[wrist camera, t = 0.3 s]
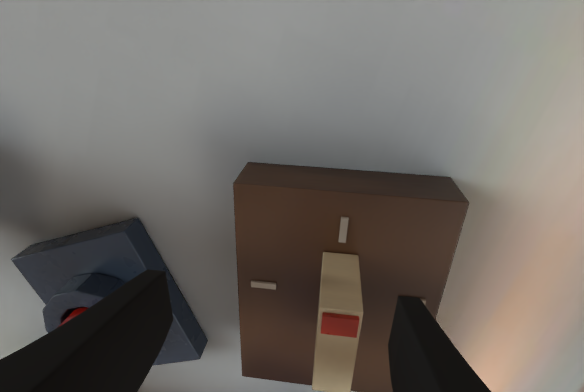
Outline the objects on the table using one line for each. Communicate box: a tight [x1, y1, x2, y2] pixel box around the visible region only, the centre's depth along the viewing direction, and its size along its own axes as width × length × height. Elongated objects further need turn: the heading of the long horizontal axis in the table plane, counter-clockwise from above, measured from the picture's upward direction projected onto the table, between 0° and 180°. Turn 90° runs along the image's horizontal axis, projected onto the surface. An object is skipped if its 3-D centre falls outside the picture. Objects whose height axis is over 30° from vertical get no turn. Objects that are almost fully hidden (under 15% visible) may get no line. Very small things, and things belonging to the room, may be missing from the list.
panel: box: [233, 162, 469, 392], centre depth 20 cm, size 14×11×3 cm
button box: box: [11, 218, 207, 365], centre depth 24 cm, size 11×9×4 cm
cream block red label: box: [312, 252, 363, 392], centre depth 17 cm, size 5×2×4 cm, turn 178°
